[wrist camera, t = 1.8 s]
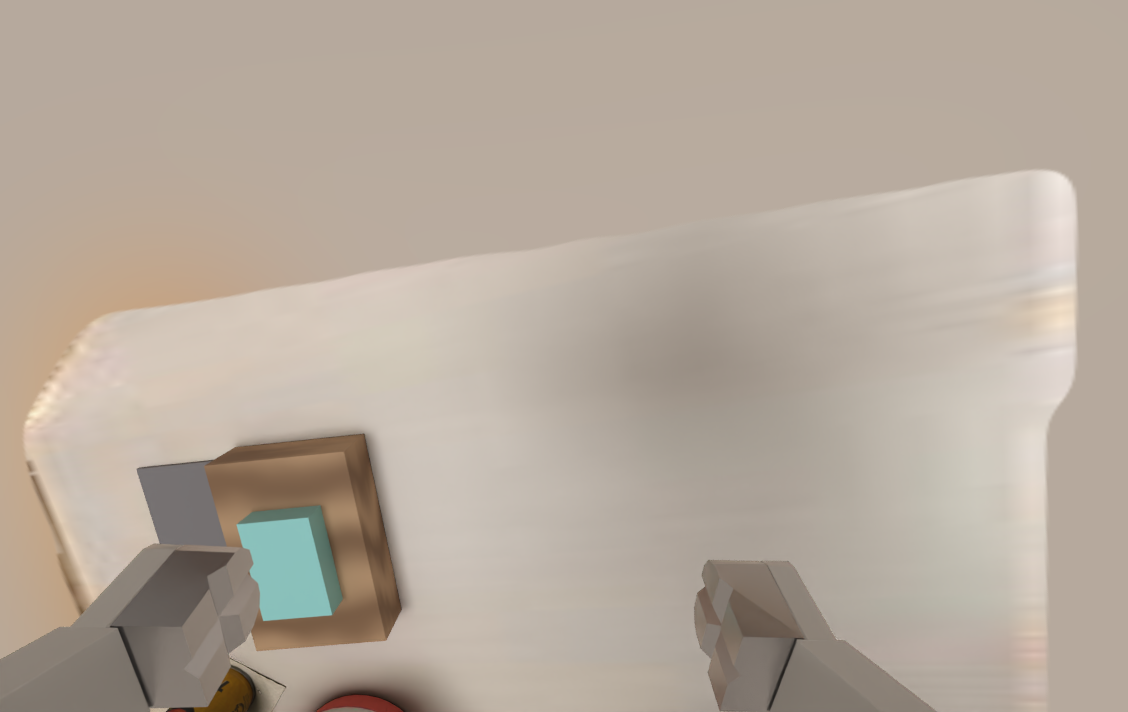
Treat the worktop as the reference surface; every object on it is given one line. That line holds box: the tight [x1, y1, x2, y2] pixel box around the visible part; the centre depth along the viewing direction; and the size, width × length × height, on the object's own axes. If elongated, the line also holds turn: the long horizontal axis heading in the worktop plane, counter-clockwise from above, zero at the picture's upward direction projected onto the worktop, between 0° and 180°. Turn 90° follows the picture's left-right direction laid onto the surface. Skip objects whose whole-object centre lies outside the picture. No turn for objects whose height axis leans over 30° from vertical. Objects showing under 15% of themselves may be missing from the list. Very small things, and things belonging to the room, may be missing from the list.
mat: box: [137, 460, 227, 547], centre depth 49 cm, size 16×9×1 cm, turn 7°
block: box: [236, 505, 343, 621], centre depth 44 cm, size 9×6×2 cm, turn 7°
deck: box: [204, 434, 401, 651], centre depth 46 cm, size 18×12×4 cm, turn 7°
